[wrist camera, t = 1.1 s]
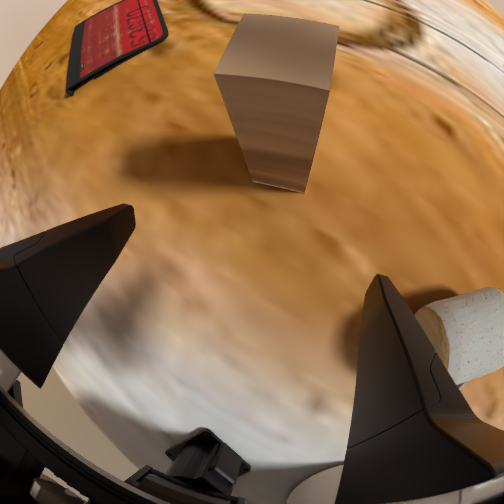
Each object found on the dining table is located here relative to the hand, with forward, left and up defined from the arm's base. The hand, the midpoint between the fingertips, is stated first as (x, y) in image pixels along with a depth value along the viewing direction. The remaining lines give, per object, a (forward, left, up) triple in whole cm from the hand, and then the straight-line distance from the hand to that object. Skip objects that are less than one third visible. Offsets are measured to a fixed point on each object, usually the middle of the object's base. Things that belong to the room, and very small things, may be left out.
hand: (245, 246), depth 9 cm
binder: (+6, +41, -14) cm, 44 cm away
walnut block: (+7, +5, -13) cm, 16 cm away
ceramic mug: (+7, -17, -14) cm, 23 cm away
